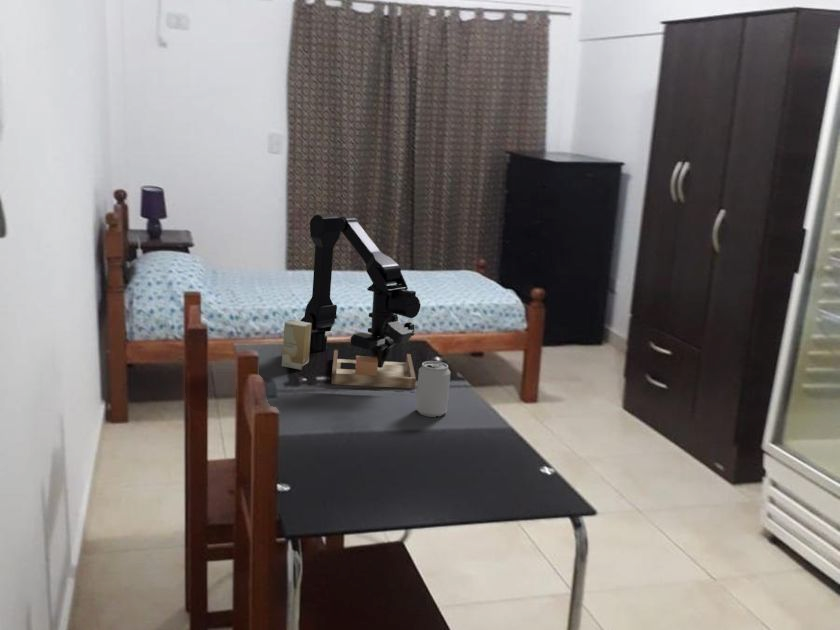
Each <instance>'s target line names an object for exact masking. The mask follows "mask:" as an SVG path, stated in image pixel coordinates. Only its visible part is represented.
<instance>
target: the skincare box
mask: <svg viewBox="0 0 840 630" xmlns="http://www.w3.org/2000/svg"><path fill="white" fill-rule="evenodd" d="M311 325H312V323H307V322H303V321H300V320H294V319H290V320H287V321H285V322H284V327H283V340H282V343H283V344H282V354H281V355H282V356H281V367H283V368H284V367H285V368H291V369H295V370H300V371H301V370H303V366H305V365H306V364H308V363H309V361H310V352H311V351H310V338H311Z"/></svg>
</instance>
